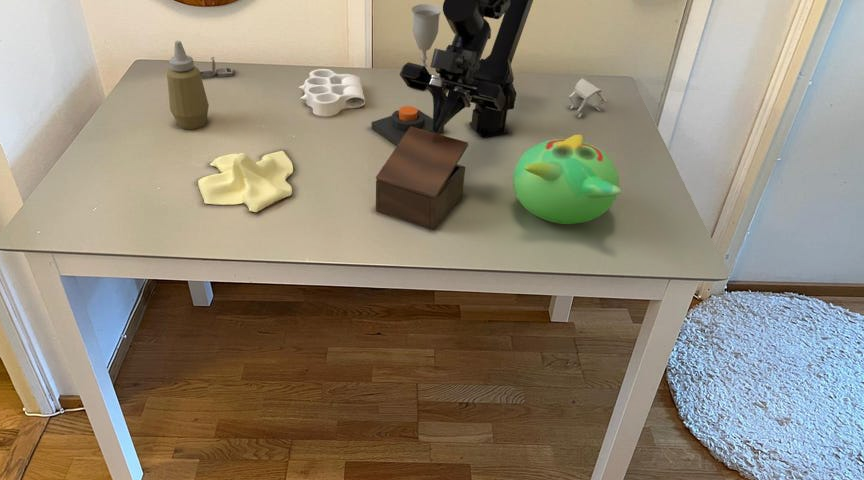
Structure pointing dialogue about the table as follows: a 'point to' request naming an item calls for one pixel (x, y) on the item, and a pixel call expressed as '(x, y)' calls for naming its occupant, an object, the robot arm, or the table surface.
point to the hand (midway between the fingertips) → (435, 130)
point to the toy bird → (566, 181)
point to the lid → (422, 162)
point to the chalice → (425, 27)
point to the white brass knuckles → (332, 92)
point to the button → (408, 113)
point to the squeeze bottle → (186, 91)
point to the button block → (401, 126)
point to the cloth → (248, 181)
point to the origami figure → (587, 93)
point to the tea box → (420, 201)
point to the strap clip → (220, 72)
